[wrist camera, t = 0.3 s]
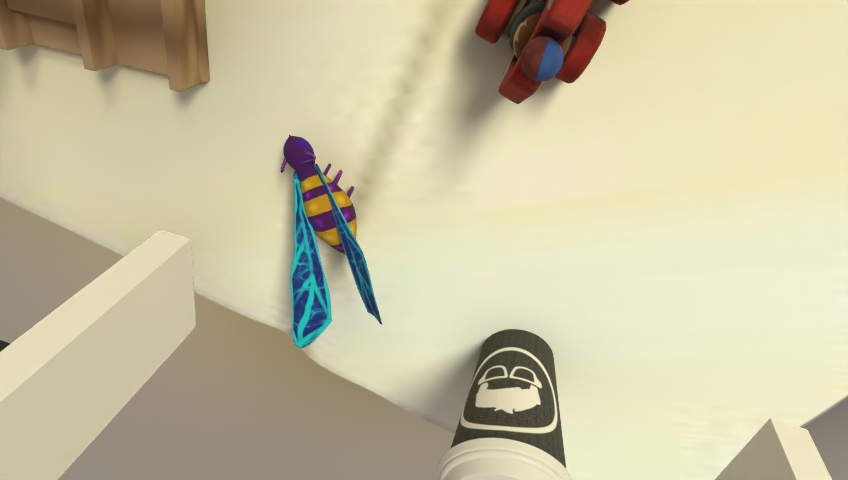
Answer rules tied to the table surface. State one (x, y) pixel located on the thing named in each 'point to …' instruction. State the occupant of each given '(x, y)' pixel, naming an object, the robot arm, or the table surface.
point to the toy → (336, 225)
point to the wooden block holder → (116, 33)
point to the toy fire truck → (542, 40)
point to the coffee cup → (509, 415)
